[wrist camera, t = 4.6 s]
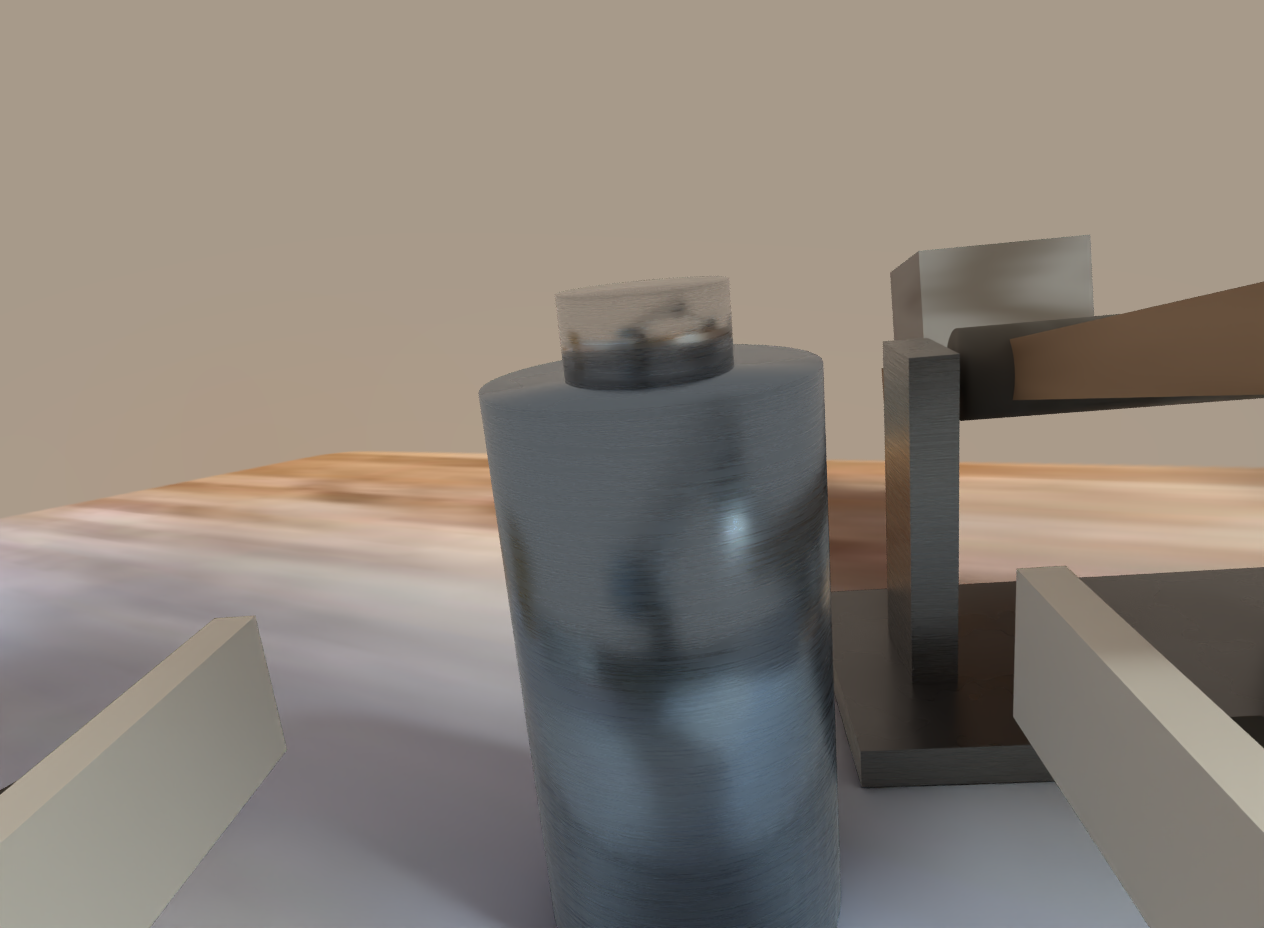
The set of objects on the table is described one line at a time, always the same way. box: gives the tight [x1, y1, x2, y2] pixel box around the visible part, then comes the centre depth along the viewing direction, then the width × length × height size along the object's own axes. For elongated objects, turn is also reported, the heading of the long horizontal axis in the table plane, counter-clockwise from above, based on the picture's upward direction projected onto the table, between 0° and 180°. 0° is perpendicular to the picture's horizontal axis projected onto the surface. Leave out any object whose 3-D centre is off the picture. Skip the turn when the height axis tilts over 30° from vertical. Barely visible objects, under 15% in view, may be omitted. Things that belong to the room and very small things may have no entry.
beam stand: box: [831, 338, 1264, 787], centre depth 23 cm, size 16×9×10 cm, turn 86°
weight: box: [479, 276, 841, 928], centre depth 16 cm, size 6×6×12 cm
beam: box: [882, 235, 1264, 421], centre depth 21 cm, size 9×30×6 cm, turn 176°
